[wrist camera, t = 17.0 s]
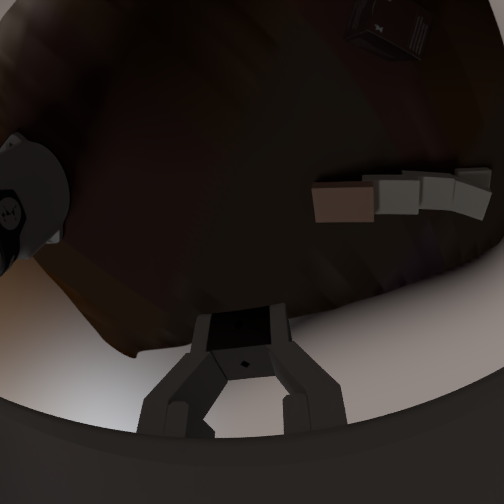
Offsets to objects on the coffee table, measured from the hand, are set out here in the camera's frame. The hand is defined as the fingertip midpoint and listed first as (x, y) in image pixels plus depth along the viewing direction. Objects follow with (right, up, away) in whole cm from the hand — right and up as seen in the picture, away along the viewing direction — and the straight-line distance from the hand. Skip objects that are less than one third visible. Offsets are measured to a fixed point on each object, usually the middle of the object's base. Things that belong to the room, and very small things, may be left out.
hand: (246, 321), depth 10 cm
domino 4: (+28, +12, +21) cm, 37 cm away
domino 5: (+26, +11, +21) cm, 35 cm away
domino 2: (+14, +9, +22) cm, 28 cm away
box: (+13, +27, +12) cm, 32 cm away
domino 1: (+8, +8, +23) cm, 26 cm away
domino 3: (+19, +10, +22) cm, 31 cm away
